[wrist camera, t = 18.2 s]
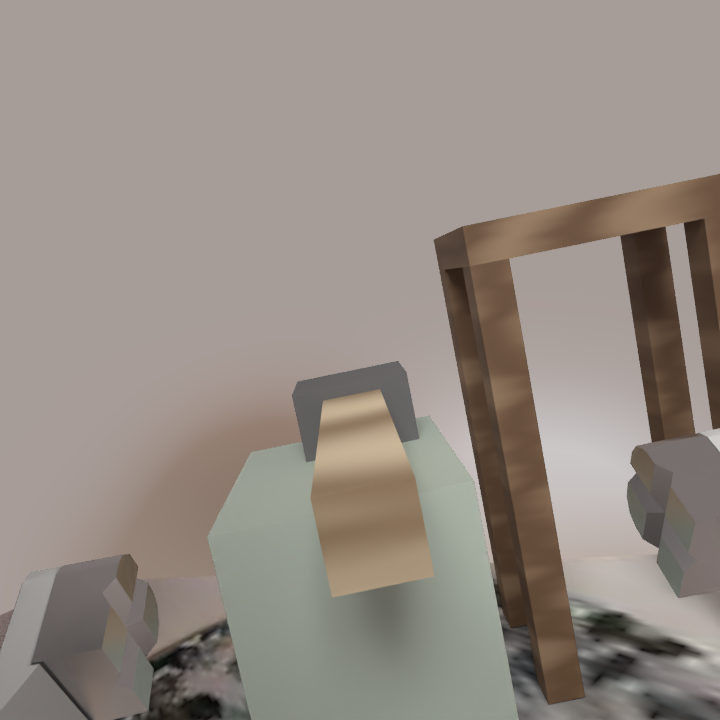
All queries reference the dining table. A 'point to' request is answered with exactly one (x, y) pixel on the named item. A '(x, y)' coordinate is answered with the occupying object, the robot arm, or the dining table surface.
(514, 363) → the plant stand
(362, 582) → the mallet
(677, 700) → the dining table surface
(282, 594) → the pale green block
